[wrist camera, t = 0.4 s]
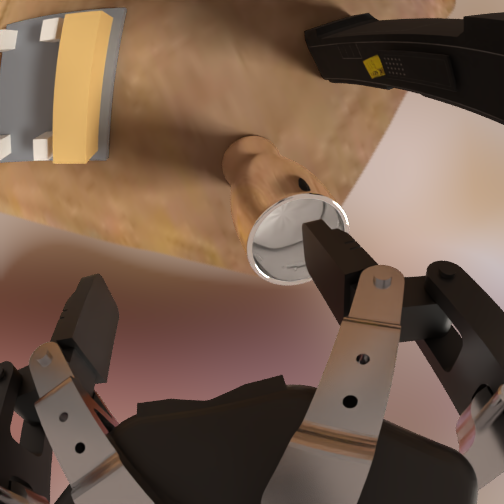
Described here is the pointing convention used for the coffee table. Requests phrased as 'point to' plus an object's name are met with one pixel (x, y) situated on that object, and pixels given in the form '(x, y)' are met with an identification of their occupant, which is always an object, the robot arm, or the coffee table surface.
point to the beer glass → (275, 208)
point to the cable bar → (79, 86)
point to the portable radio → (418, 57)
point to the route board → (44, 86)
